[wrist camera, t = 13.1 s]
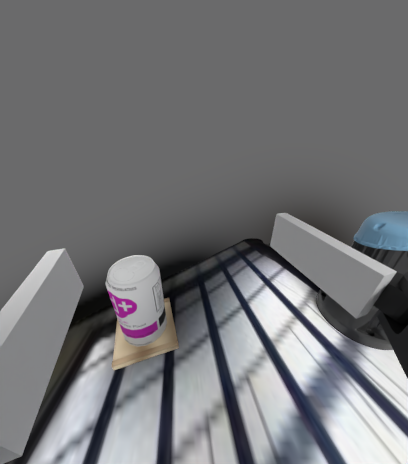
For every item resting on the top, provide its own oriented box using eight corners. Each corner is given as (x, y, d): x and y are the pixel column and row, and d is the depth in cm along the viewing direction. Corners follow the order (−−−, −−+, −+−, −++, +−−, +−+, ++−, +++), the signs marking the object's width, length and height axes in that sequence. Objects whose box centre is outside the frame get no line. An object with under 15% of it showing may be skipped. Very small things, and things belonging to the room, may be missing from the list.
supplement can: (143, 358, 30) (125, 296, 23) (115, 332, 34) (92, 272, 27) (175, 321, 36) (169, 263, 29) (148, 303, 40) (136, 248, 33)
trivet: (169, 301, 41) (169, 297, 41) (178, 348, 32) (178, 343, 32) (119, 314, 38) (117, 310, 38) (113, 370, 29) (111, 366, 28)
